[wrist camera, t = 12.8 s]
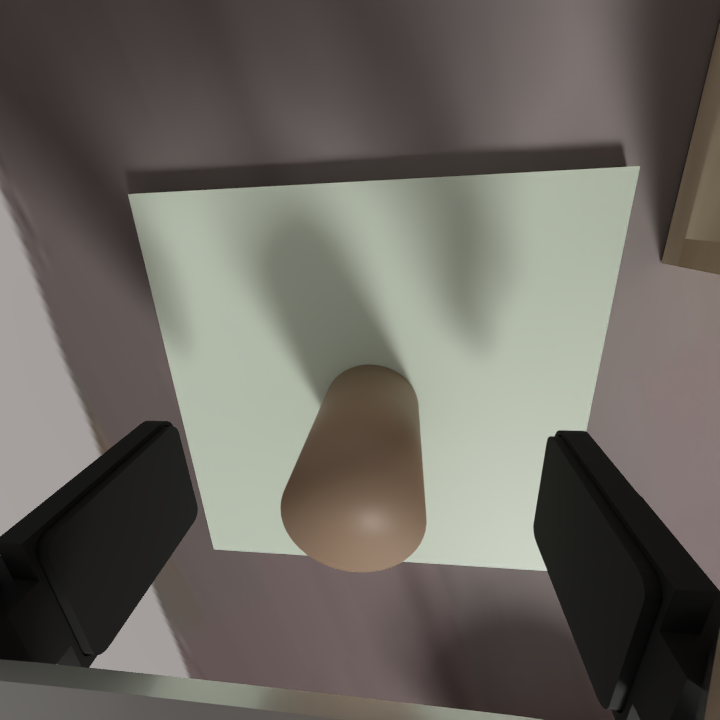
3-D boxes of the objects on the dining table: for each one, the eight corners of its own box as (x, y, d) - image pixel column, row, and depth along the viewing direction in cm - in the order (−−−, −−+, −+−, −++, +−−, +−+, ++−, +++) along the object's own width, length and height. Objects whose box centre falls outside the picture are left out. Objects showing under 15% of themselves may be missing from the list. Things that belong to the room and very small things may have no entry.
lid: (615, 170, 11) (865, 121, 5) (546, 545, 16) (629, 740, 10) (152, 195, 12) (-71, 180, 6) (226, 527, 17) (137, 684, 12)
